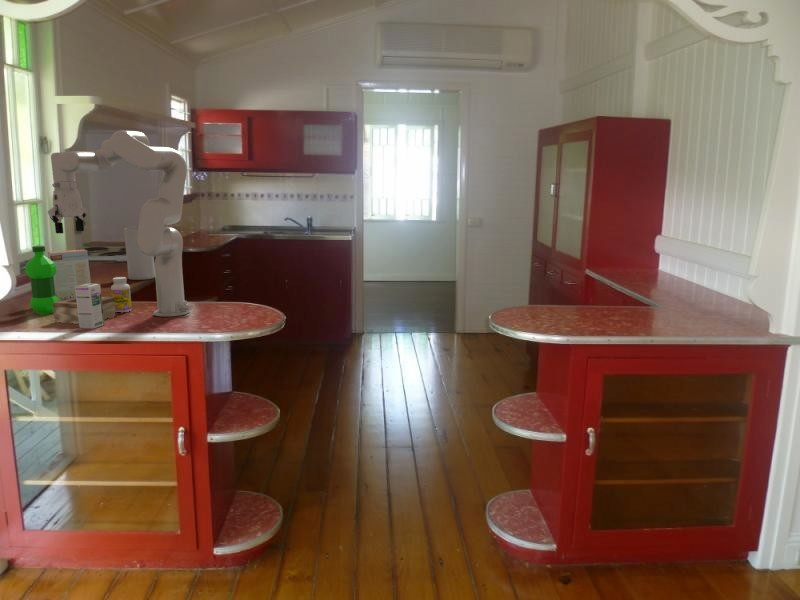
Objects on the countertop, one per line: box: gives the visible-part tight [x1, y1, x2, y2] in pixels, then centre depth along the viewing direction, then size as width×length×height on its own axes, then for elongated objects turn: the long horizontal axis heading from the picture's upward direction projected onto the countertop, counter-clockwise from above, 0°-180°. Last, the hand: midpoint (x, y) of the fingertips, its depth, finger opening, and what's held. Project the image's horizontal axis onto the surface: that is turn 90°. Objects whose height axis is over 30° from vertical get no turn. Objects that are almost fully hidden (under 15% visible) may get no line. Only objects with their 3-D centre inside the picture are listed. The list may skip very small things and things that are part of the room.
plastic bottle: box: [24, 245, 59, 315], centre depth 256 cm, size 10×10×25 cm
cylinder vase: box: [123, 226, 155, 281], centre depth 339 cm, size 12×12×25 cm
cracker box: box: [47, 249, 92, 301], centre depth 279 cm, size 14×6×21 cm, turn 126°
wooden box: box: [53, 296, 116, 325], centre depth 245 cm, size 14×14×7 cm
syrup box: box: [75, 282, 105, 330], centre depth 232 cm, size 6×6×14 cm
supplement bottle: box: [110, 276, 132, 313], centre depth 257 cm, size 7×7×13 cm
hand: (70, 232), depth 260 cm, fingers open, 9 cm apart
